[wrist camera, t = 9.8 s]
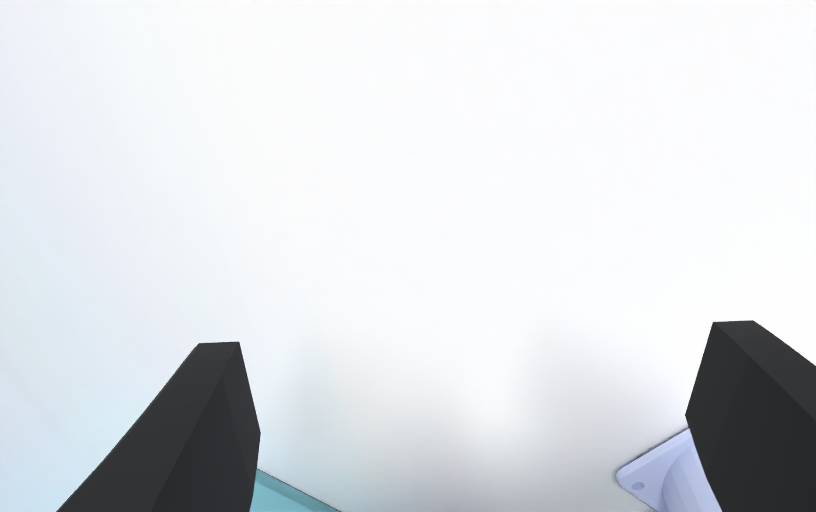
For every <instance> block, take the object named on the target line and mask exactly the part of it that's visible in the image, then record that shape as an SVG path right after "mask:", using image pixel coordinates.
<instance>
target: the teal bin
mask: <svg viewBox="0 0 816 512" xmlns="http://www.w3.org/2000/svg"><path fill="white" fill-rule="evenodd" d="M250 512H340V511H338V510H336V509H334V508H332V507H330V506H328V505H326V504H324V503H322V502H320V501H318V500H316V499H314V498H312V497H310V496H309V495H307V494H305V493H303V492H301V491H299V490H297V489H295V488H293V487H291V486H289V485H287V484H285V483H283V482H281V481H279V480H277V479H276V478H274V477H272V476H270V475H268V474H266V473H264V472H262V471H260V470H258V469H257V470H256V478H255V485H254V493H253V499H252V503H251V507H250Z"/></svg>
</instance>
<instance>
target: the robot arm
mask: <svg viewBox="0 0 816 512" xmlns="http://www.w3.org/2000/svg"><path fill="white" fill-rule="evenodd" d="M685 416H686V419H687V423H688V426H689V428H688V429H687V430H685V431H683V432H682V433H680V434H678V435H677V436H675V437H673V438H672V439H670V440H668V441H667V442H665V443H663V444H661V445H660V446H658V447H656V448H655V449H653V450H651V451H650V452H648V453H646V454H645V455H643V456H641V457H640V458H638V459H636V460H635V461H633V462H631V463H629V464H628V465H626V466H624V467H623V468H621V469H620V470H619V471H618V472H617V474H616V478H617V481H618V484H619V485H620V486H621V487H623V488H624V489H626V490H627V491H629V492H630V493H631V494H633V495H634V496H636V497H637V498H639V499H640V500H642V501H643V502H644V503H646V504H647V505H649V506H650V507H652V508H653V509H655V510H656V511H658V512H816V366H815V365H814V364H812V363H811V362H810V361H808V360H807V359H806V358H804V357H803V356H802V355H800V354H799V353H798V352H796V351H795V350H794V349H792V348H791V347H790V346H788V345H787V344H786V343H784V342H783V341H782V340H780V339H779V338H777V337H776V336H775V335H773V334H772V333H771V332H769V331H768V330H766V329H765V328H763V327H762V326H761V325H759V324H758V323H756V322H755V321H753V320H752V321H728V322H713V324H712V327H711V331H710V334H709V337H708V341H707V344H706V347H705V351H704V354H703V357H702V361H701V364H700V367H699V371H698V374H697V377H696V381H695V384H694V387H693V390H692V394H691V397H690V400H689V404H688V407H687V410H686V414H685ZM260 434H261V432H260V428H259V424H258V420H257V415H256V411H255V407H254V403H253V398H252V394H251V390H250V386H249V381H248V377H247V373H246V369H245V364H244V360H243V356H242V352H241V347H240V343H239V342H219V343H199V344H198V345H197V346H196V347H195V348H194V349H193V350H192V352H191V353H190V354H189V355H188V357H187V358H186V359H185V360H184V362H183V363H182V364H181V366H180V367H179V368H178V369H177V371H176V372H175V373H174V375H173V376H172V377H171V378H170V380H169V381H168V382H167V383H166V385H165V386H164V387H163V389H162V390H161V391H160V392H159V394H158V395H157V396H156V397H155V399H154V400H153V401H152V402H151V404H150V405H149V406H148V407H147V409H146V410H145V411H144V412H143V414H142V415H141V416H140V417H139V418H138V420H137V421H136V422H135V423H134V424H133V426H132V427H131V428H130V429H129V430H128V432H127V433H126V434H125V435H124V436H123V437H122V439H121V440H120V441H119V442H118V443H117V445H116V446H115V447H114V448H113V449H112V451H111V452H110V453H109V454H108V455H107V456H106V458H105V459H104V460H103V461H102V462H101V463H100V464H99V466H98V467H97V468H96V469H95V470H94V471H93V472H92V473H91V474H90V476H89V477H88V478H87V479H86V480H85V481H84V482H83V483H82V484H81V485H80V486H79V487H78V489H77V490H76V491H75V492H74V493H73V494H72V495H71V496H70V497H69V498H68V499H67V501H66V502H65V503H64V504H63V505H62V506H61V507H60V508H59V509H58V510H57V511H56V512H250V507H251V503H252V499H253V493H254V485H255V478H256V470H257V461H258V452H259V443H260Z"/></svg>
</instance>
